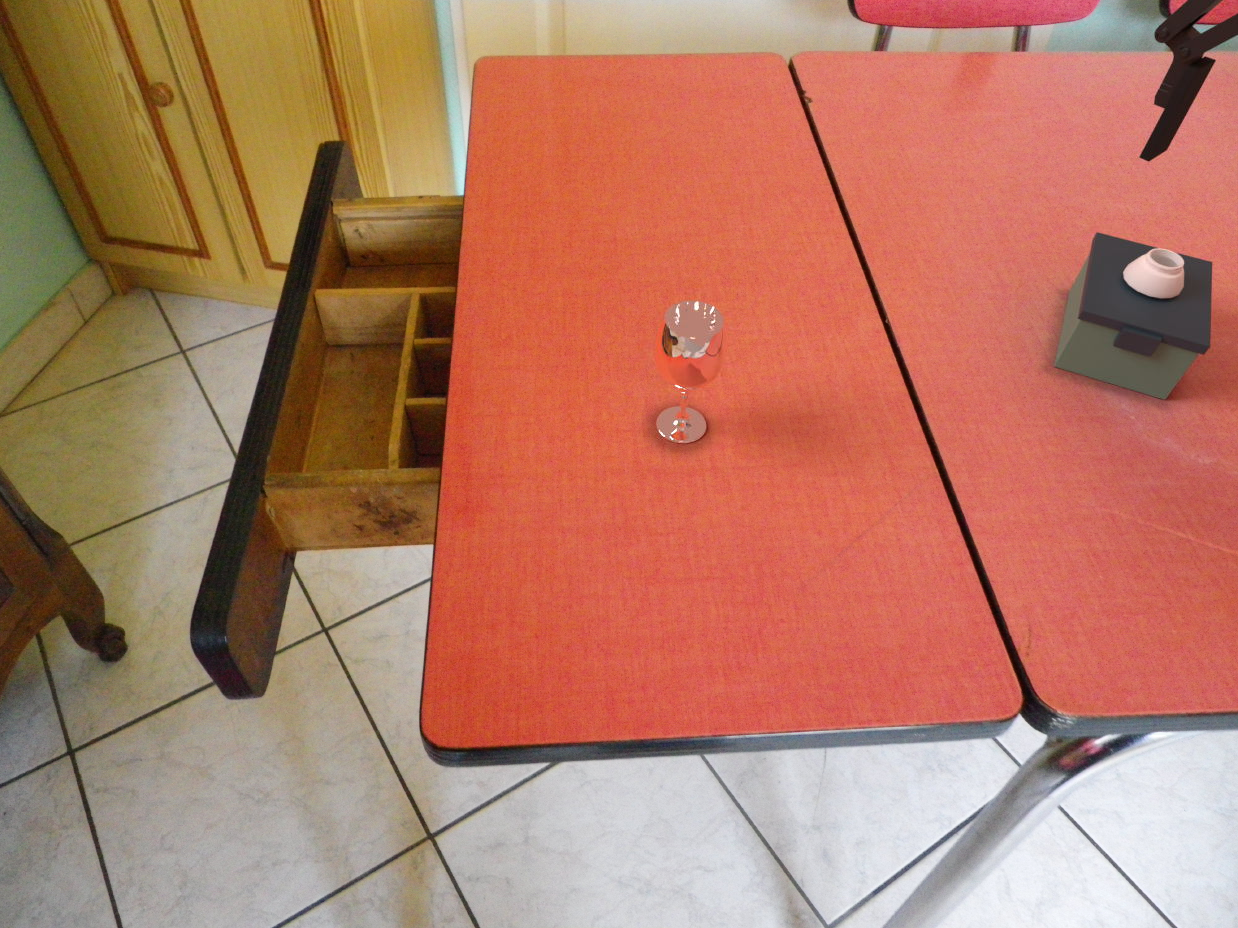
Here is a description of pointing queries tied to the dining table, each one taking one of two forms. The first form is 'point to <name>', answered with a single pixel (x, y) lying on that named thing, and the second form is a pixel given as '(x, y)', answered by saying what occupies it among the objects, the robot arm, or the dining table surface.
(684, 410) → the wineglass
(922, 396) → the dining table surface
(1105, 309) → the box
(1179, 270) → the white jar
